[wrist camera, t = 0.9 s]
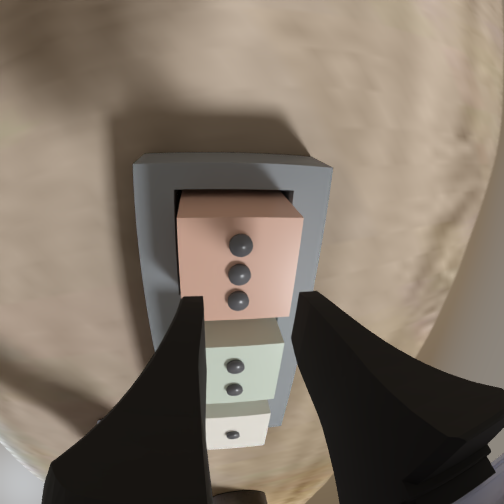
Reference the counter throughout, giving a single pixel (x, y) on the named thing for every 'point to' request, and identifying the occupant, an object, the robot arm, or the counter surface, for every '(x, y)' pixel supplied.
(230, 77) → the counter surface
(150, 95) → the counter surface
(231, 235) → the three-pip tile
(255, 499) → the pillar candle
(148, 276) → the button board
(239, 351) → the tile
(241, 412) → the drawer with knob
